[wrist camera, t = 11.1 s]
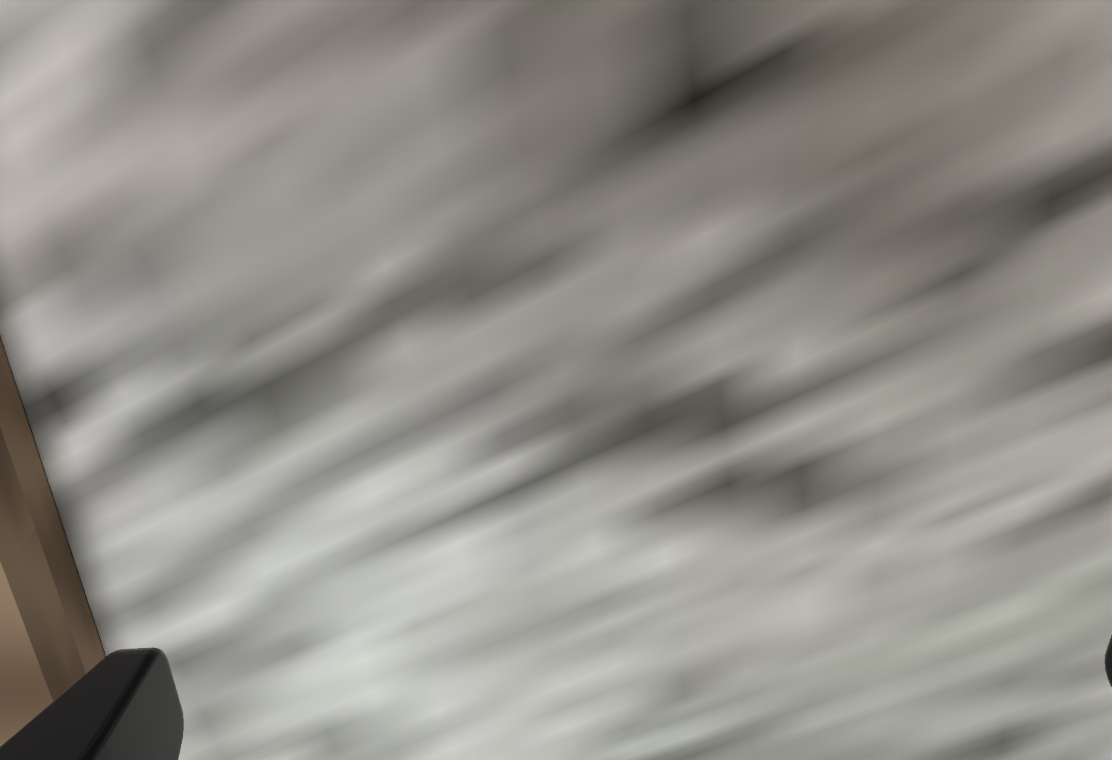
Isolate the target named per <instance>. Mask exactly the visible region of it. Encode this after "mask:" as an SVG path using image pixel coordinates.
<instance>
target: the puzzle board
mask: <svg viewBox="0 0 1112 760" xmlns="http://www.w3.org/2000/svg"><path fill="white" fill-rule="evenodd" d="M104 658H105V654H104V651H103V648H102V645H101V642H100V639H99V636H98V633H97V630H96V627H95V624H94V621H93V618H92V615H91V612H90V609H89V606H88V603H87V600H86V597H85V594H84V591H83V588H82V585H81V582H80V579H79V576H78V573H77V570H76V567H75V564H74V561H73V558H72V555H71V551H70V548H69V545H68V542H67V539H66V536H65V533H64V530H63V527H62V524H61V521H60V518H59V515H58V512H57V509H56V506H55V503H54V500H53V497H52V494H51V491H50V488H49V485H48V482H47V479H46V476H45V473H44V470H43V467H42V464H41V461H40V458H39V455H38V452H37V448H36V445H35V442H34V439H33V436H32V433H31V430H30V427H29V424H28V421H27V418H26V415H25V412H24V409H23V406H22V403H21V400H20V397H19V394H18V391H17V388H16V385H15V382H14V379H13V376H12V373H11V370H10V367H9V364H8V361H7V358H6V355H5V352H4V349H3V345H2V342H1V339H0V747H1V746H2V745H3V744H4V743H5V742H6V741H8V740H9V739H10V738H11V737H12V736H13V735H15V734H16V733H17V732H18V731H19V730H20V729H22V728H23V727H24V726H25V725H26V724H28V723H29V722H30V721H31V720H32V719H33V718H35V717H36V716H37V715H38V714H39V713H40V712H42V711H43V710H44V709H45V708H46V707H47V706H49V705H50V704H51V703H52V702H53V701H54V700H56V699H57V698H58V697H59V696H60V695H61V694H63V693H64V692H65V691H66V690H67V689H69V688H70V687H71V686H72V685H73V684H74V683H76V682H77V681H78V680H79V679H80V678H81V677H83V676H84V675H85V674H86V673H87V672H88V671H90V670H91V669H92V668H93V667H94V666H95V665H97V664H98V663H99V662H100V661H101V660H103V659H104Z"/></svg>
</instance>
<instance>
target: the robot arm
mask: <svg viewBox="0 0 1112 760" xmlns="http://www.w3.org/2000/svg"><path fill="white" fill-rule="evenodd" d="M1105 669H1106V673H1107V677H1108V680H1109V682H1110V685H1111V687H1112V636H1111V639H1110V642H1109V644H1108V647H1107V650H1106V654H1105ZM183 729H184V719H183V712H182V707H181V704H180V700H179V697H178V694H177V690H176V687H175V683H174V680H173V676H172V673H171V669H170V666H169V662H168V659H167V657H166V655H165V654H164V652H163V651H162V650H160V649H158V648H138V649H121V650H117V651H114V652H112V653H110V654H109V655H108V656H106V657H105V658H104V659H103V660H101V661H100V662H99V663H98V664H97V665H95V666H94V667H93V668H92V669H91V670H90V671H88V672H87V673H86V674H85V675H84V676H83V677H81V678H80V679H79V680H78V681H77V682H76V683H74V684H73V685H72V686H71V687H70V688H69V689H67V690H66V691H65V692H64V693H63V694H61V695H60V696H59V697H58V698H57V699H56V700H54V701H53V702H52V703H51V704H50V705H49V706H47V707H46V708H45V709H44V710H43V711H42V712H40V713H39V714H38V715H37V716H36V717H35V718H33V719H32V720H31V721H30V722H29V723H28V724H26V725H25V726H24V727H23V728H22V729H20V730H19V731H18V732H17V733H16V734H15V735H13V736H12V737H11V738H10V739H9V740H8V741H6V742H5V743H4V744H3V745H2V746H1V747H0V760H178V758H179V753H180V749H181V744H182V738H183Z"/></svg>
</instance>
